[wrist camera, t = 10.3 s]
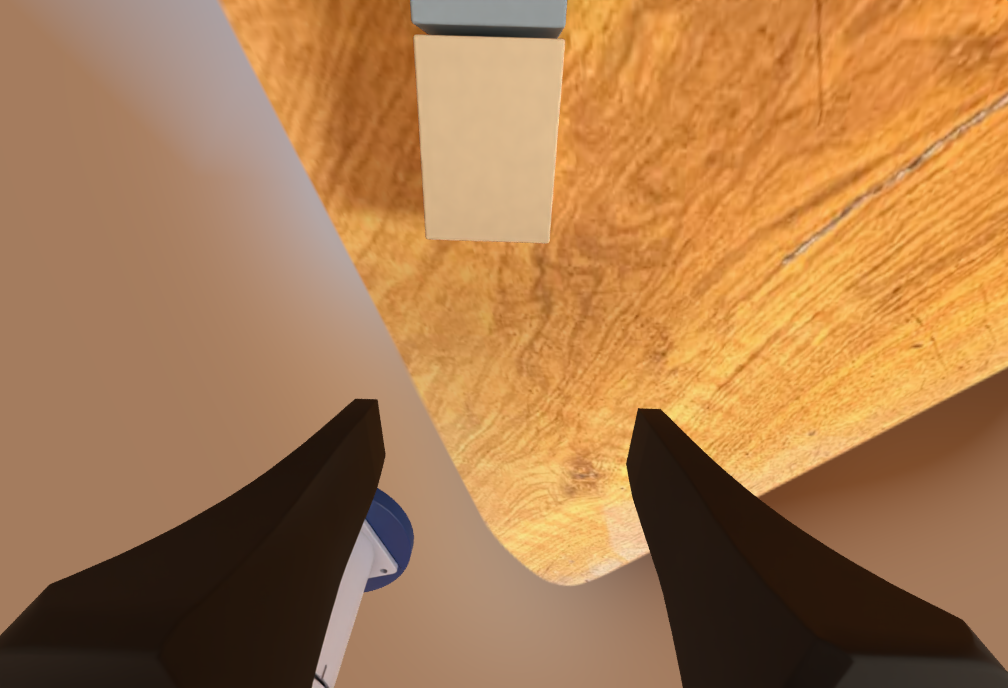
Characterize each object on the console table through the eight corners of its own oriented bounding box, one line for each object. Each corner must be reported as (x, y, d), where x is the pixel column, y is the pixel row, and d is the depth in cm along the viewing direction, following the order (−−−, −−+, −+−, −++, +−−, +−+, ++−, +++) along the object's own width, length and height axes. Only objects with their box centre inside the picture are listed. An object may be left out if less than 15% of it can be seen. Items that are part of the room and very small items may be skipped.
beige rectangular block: (544, 219, 19) (549, 244, 16) (440, 216, 19) (425, 239, 16) (556, 49, 16) (565, 38, 13) (433, 46, 16) (412, 34, 13)
